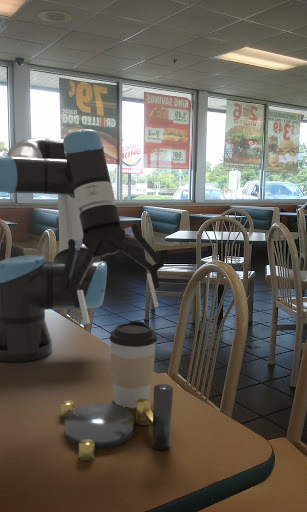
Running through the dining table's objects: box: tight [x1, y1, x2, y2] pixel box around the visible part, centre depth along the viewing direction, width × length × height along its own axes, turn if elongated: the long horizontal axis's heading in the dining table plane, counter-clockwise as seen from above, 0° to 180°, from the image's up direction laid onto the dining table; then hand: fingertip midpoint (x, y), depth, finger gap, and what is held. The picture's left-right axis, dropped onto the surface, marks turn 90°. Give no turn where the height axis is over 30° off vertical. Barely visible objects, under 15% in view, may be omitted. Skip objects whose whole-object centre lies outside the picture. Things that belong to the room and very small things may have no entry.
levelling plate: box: [60, 399, 135, 462], centre depth 80 cm, size 16×12×2 cm
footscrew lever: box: [135, 383, 174, 450], centre depth 79 cm, size 11×3×10 cm, turn 22°
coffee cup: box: [109, 320, 158, 409], centre depth 91 cm, size 9×9×15 cm
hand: (122, 315), depth 90 cm, fingers open, 13 cm apart
